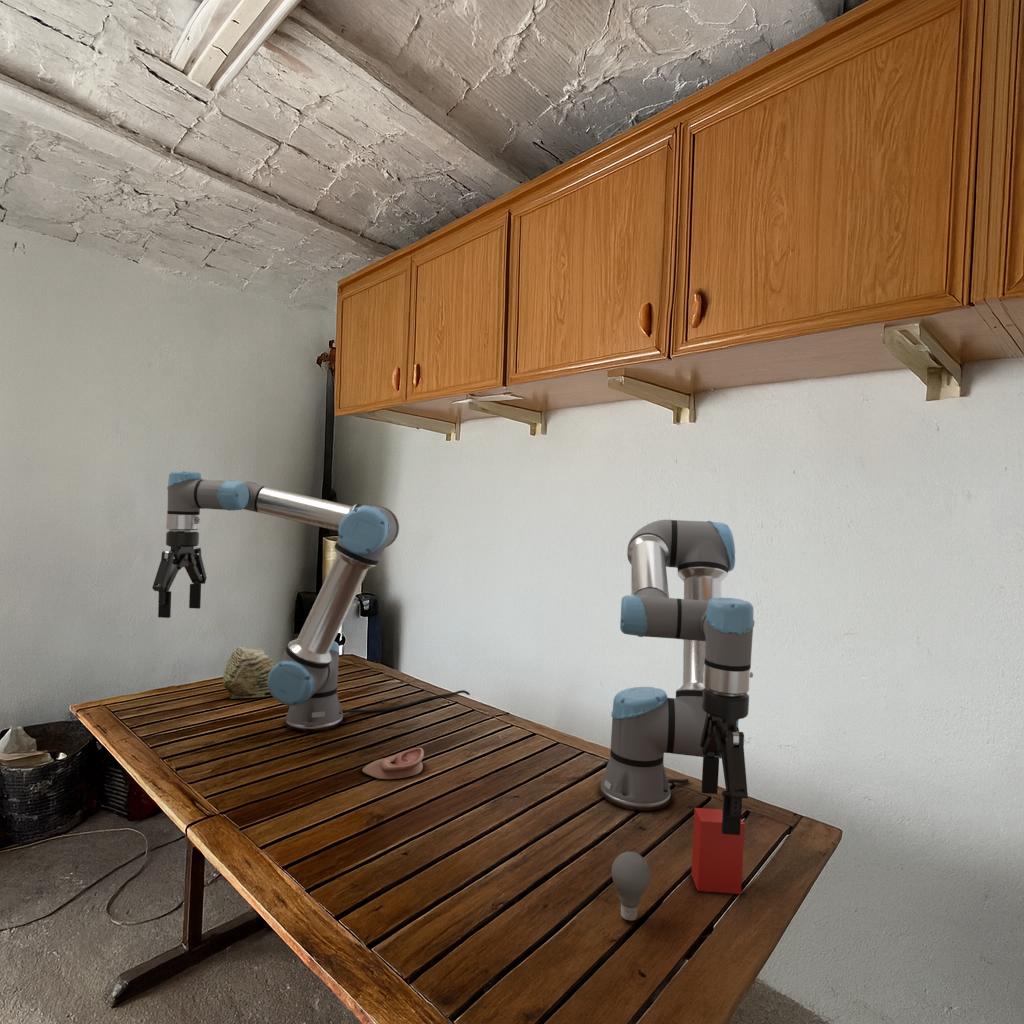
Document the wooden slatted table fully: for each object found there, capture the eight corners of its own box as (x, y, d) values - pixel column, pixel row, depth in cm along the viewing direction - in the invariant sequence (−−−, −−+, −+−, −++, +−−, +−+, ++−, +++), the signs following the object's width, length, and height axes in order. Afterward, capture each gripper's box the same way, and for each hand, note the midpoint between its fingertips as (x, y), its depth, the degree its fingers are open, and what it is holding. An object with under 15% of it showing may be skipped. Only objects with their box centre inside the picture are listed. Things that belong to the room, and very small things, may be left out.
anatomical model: (356, 758, 144) (377, 740, 155) (356, 775, 144) (376, 756, 155) (412, 766, 141) (429, 746, 152) (411, 783, 141) (428, 763, 153)
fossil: (218, 695, 195) (220, 647, 195) (278, 685, 208) (279, 640, 207) (228, 703, 189) (230, 653, 188) (289, 692, 201) (290, 645, 201)
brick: (697, 891, 107) (701, 821, 106) (691, 874, 111) (694, 807, 111) (741, 894, 106) (744, 824, 106) (732, 877, 111) (736, 810, 111)
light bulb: (605, 905, 101) (608, 843, 101) (642, 905, 102) (645, 843, 102) (614, 931, 95) (617, 865, 95) (653, 930, 96) (656, 865, 96)
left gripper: (168, 533, 151) (165, 622, 151) (221, 529, 176) (219, 605, 176) (137, 532, 151) (134, 620, 152) (195, 528, 176) (192, 604, 177)
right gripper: (774, 717, 95) (766, 855, 96) (727, 670, 120) (721, 779, 121) (724, 714, 96) (716, 851, 97) (687, 668, 121) (682, 777, 122)
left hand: (180, 612), depth 164 cm, fingers open, 13 cm apart
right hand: (719, 812), depth 109 cm, fingers open, 13 cm apart
